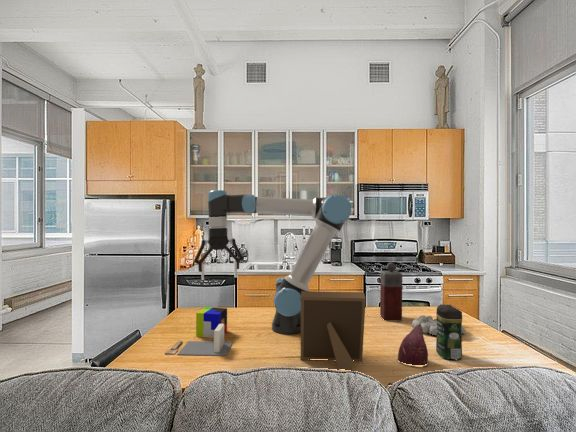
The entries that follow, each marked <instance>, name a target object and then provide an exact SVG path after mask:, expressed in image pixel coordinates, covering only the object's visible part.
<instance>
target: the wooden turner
mask: <svg viewBox="0 0 576 432" xmlns="http://www.w3.org/2000/svg"><path fill="white" fill-rule="evenodd" d="M181 344H183V340H177V341H176V342H175V343H174V345H173V346H172V347H171V348H169V349H167V350H166V351H165V352H164V355H173V356H174V355H176V353H178V352H179V349H178V348H179V347H180V346H181Z"/></svg>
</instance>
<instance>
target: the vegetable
mask: <svg viewBox="0 0 576 432" xmlns="http://www.w3.org/2000/svg"><path fill="white" fill-rule="evenodd" d="M427 346H428V345H427V344H426V341H425V337H424V333H423V331H422V326H421V324H419V325H417V326H416V327H415V328H412V330H410V332H408V334H406V335H405V336H404V338H403V340H402V341H401V343H400V345H399V349H398V354H397V361H398V360H399V361H400V362H403V363H406V364H412V365H425V364H427V363H428V364H429V351H428V347H427Z"/></svg>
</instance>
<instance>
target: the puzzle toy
mask: <svg viewBox="0 0 576 432" xmlns="http://www.w3.org/2000/svg"><path fill="white" fill-rule="evenodd" d="M195 315H196V316H195V317H196V318H195V324H196V325H195V332H196V333H195V337H197V338H198V337H201V338H213V339H214V330H215V329H216V328H217V326H218V325H219V324H224V334H225V333H227V331H228V308H227V307H214V306H213V307H212V306H211V307H209V306H205V307H203V308H202V309H201V310H199V311H197V312H196V313H195Z"/></svg>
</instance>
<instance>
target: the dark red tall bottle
mask: <svg viewBox="0 0 576 432" xmlns="http://www.w3.org/2000/svg"><path fill="white" fill-rule="evenodd" d="M386 264H387V265H386V269H387V270H381V271H380V299H379V301H380V306H379V307H380V309H379V311H380V312H379V316H380V315H381V316H380V318H381V317H382V318H383V319H384V320H402V321H403V274H402V273H401V272H400V271H398V270H397V264H395V263H394V262H388V263H386ZM382 318H381V319H382ZM383 319H382V320H383Z"/></svg>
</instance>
